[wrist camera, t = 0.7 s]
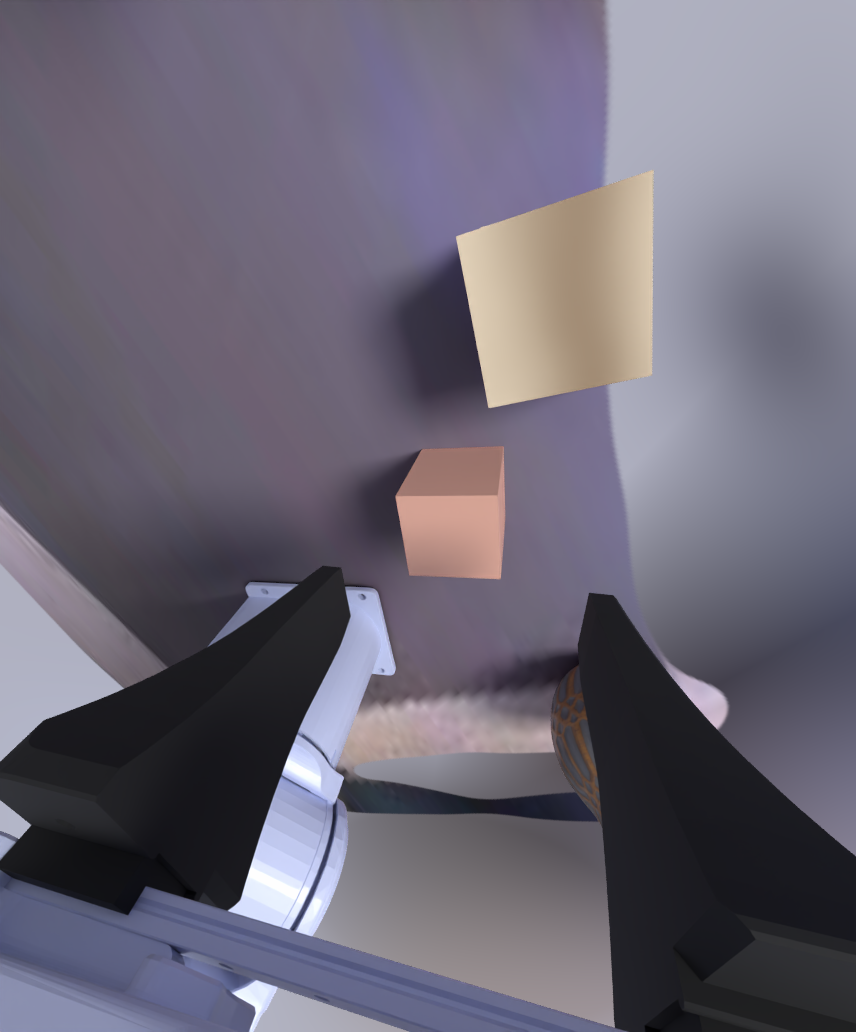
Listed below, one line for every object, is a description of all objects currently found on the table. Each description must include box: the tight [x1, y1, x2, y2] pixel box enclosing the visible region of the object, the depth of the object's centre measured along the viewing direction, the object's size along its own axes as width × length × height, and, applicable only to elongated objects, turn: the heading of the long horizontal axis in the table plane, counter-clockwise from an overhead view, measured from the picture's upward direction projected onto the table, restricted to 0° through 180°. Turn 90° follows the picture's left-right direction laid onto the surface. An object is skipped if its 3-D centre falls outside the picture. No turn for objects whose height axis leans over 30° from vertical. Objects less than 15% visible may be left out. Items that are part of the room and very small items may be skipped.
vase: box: [551, 665, 602, 826], centre depth 22 cm, size 7×7×9 cm
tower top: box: [456, 170, 653, 408], centre depth 13 cm, size 5×5×2 cm
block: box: [395, 446, 505, 579], centre depth 19 cm, size 4×4×5 cm
